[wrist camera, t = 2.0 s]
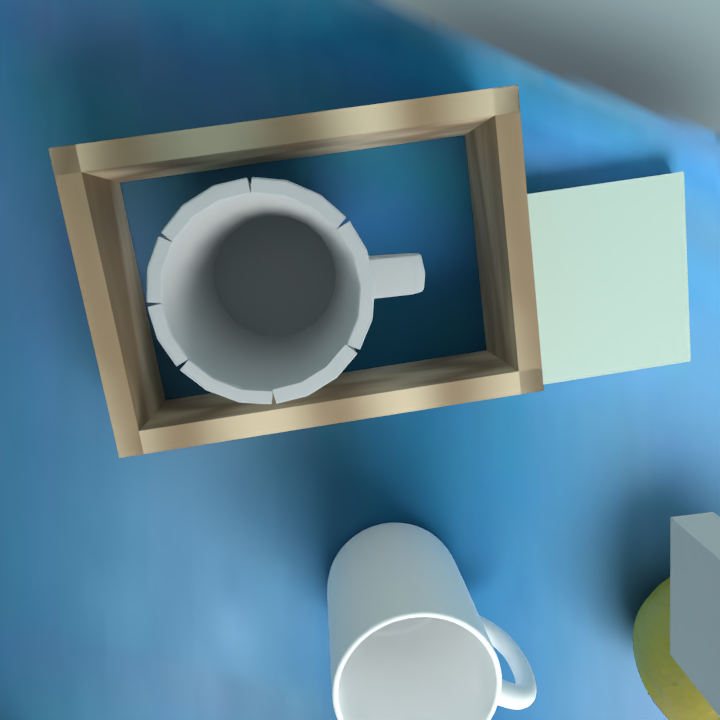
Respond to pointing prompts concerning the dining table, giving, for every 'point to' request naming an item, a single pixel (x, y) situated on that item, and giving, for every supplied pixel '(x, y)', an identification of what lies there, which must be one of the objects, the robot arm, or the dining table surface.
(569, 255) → the mat
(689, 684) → the fruit
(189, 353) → the cup
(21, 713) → the dining table surface
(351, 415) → the caddy
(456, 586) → the cup
